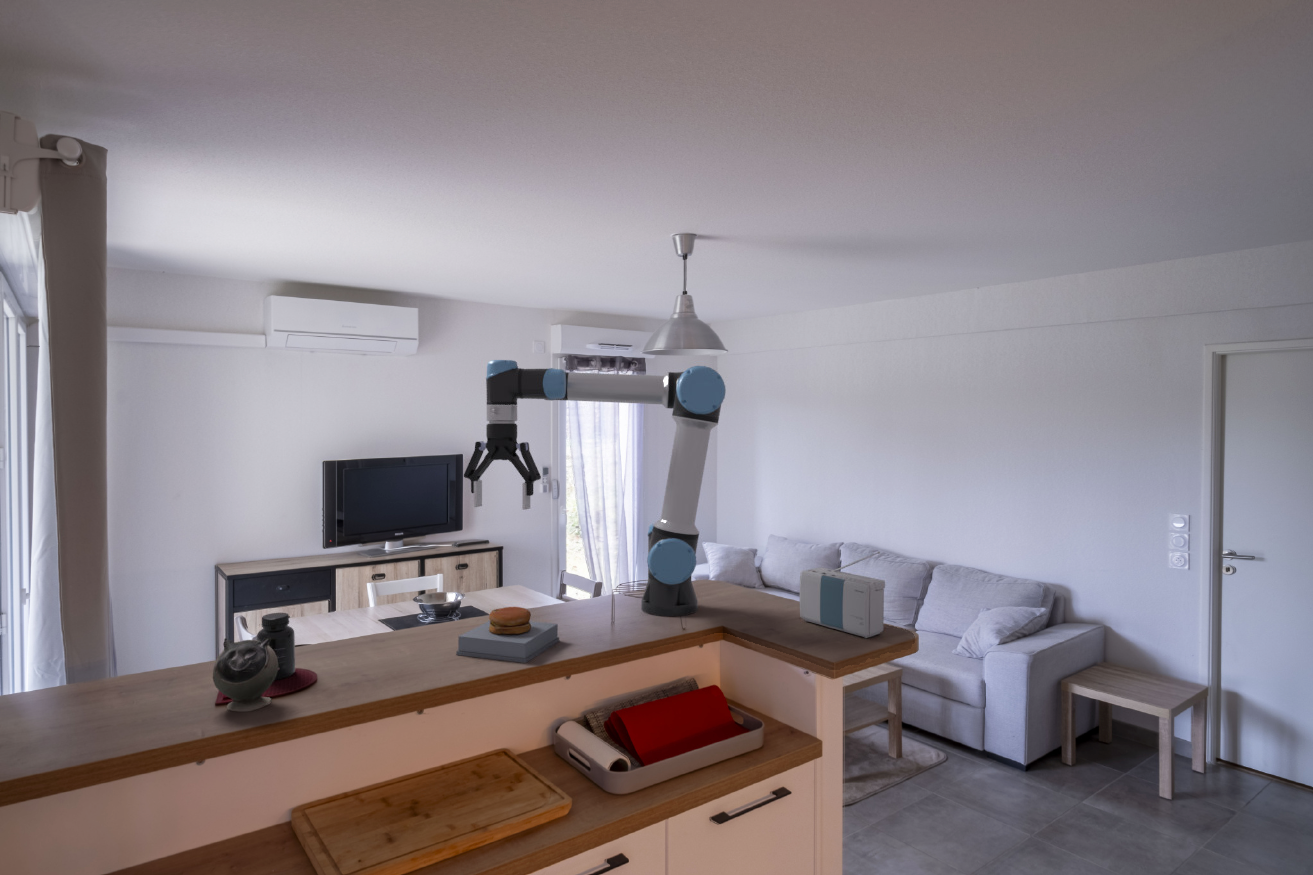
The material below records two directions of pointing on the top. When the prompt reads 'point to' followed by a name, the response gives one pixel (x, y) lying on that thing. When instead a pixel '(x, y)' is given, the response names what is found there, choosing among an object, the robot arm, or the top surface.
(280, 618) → the supplement bottle
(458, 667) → the top surface
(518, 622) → the burger
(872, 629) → the stereo radio cassette player
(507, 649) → the stacking base
